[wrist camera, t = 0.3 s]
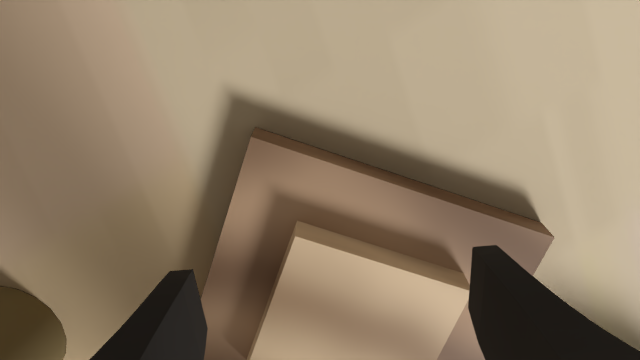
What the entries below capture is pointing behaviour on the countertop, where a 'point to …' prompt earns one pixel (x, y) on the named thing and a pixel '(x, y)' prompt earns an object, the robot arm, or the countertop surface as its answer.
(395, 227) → the walnut stand
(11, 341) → the salt shaker
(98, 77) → the countertop surface
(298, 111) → the countertop surface
